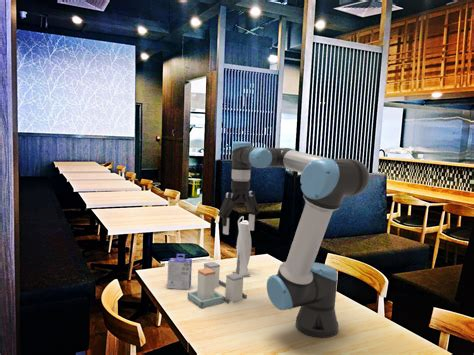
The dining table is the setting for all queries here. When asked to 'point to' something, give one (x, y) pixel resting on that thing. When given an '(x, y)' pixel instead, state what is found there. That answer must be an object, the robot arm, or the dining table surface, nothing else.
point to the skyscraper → (243, 248)
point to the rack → (228, 284)
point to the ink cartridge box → (179, 272)
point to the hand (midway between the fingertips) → (238, 232)
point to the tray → (202, 304)
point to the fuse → (206, 284)
